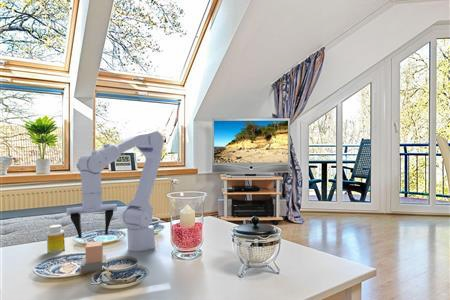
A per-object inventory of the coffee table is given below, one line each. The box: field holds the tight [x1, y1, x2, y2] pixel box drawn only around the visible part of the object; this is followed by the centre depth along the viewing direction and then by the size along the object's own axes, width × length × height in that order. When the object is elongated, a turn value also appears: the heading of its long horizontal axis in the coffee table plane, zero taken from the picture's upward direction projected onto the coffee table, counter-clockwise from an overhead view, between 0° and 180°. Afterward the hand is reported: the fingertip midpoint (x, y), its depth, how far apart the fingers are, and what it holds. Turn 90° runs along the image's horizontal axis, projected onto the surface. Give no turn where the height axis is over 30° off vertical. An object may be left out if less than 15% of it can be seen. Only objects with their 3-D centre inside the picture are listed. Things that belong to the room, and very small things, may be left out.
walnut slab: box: [78, 267, 102, 275], centre depth 98 cm, size 8×8×2 cm
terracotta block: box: [84, 240, 104, 264], centre depth 98 cm, size 4×4×5 cm
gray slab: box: [80, 254, 107, 272], centre depth 98 cm, size 7×7×2 cm
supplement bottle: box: [46, 224, 66, 254], centre depth 114 cm, size 6×6×10 cm
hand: (93, 235), depth 100 cm, fingers open, 7 cm apart
